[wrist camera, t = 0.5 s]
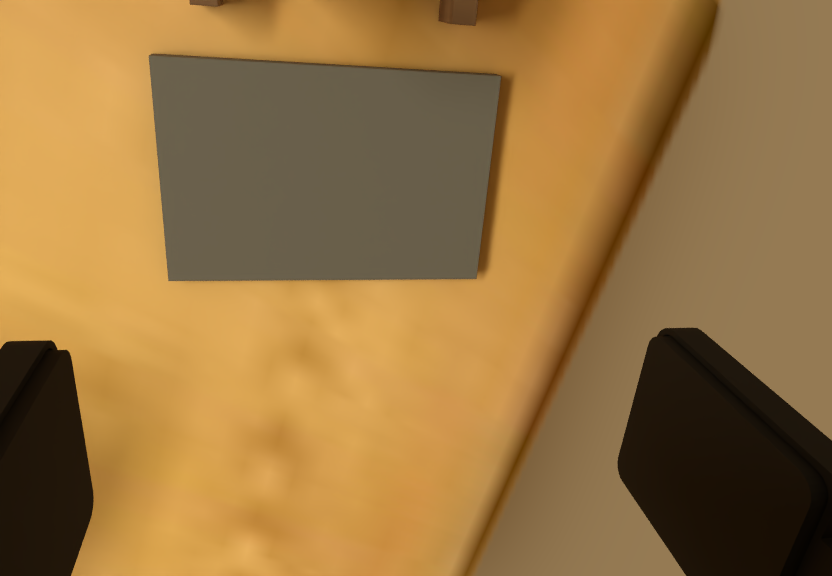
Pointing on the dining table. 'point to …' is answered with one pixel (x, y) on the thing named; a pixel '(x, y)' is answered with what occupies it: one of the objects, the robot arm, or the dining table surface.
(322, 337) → the dining table surface
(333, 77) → the mat
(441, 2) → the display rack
